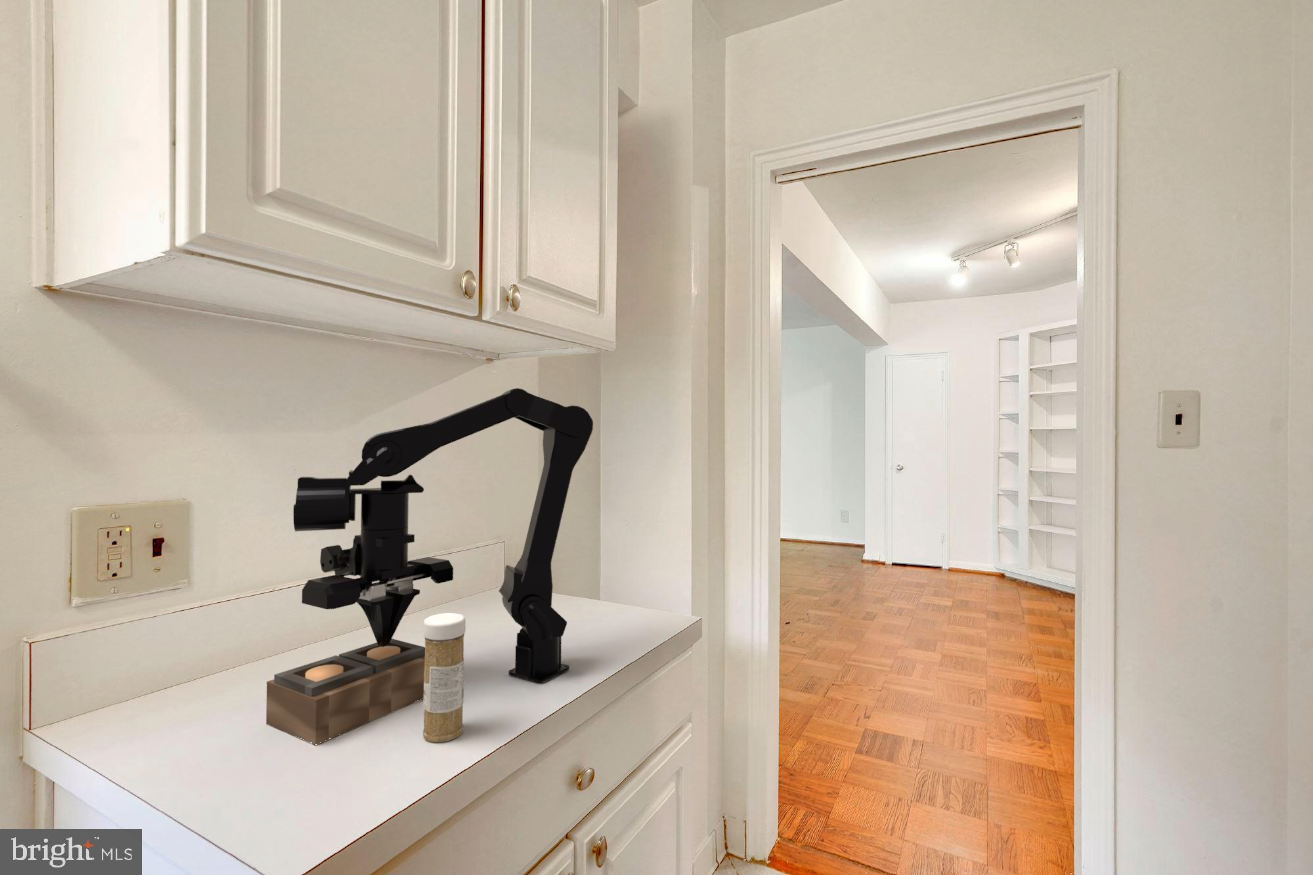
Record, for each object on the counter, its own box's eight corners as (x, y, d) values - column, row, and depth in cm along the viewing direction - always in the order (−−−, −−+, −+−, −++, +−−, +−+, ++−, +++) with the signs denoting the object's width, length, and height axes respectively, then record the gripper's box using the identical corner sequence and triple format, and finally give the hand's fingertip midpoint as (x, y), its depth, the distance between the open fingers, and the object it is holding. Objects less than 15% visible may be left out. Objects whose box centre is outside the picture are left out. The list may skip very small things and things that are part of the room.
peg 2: (386, 688, 82) (387, 644, 82) (406, 694, 80) (406, 649, 80) (359, 698, 79) (360, 652, 79) (379, 705, 77) (379, 658, 77)
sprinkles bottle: (428, 725, 72) (429, 612, 72) (468, 724, 72) (469, 611, 72) (417, 745, 67) (418, 623, 67) (459, 743, 67) (460, 622, 68)
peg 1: (330, 710, 75) (330, 662, 75) (349, 717, 73) (350, 668, 73) (297, 723, 72) (298, 672, 72) (317, 731, 70) (318, 679, 70)
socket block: (385, 678, 86) (386, 636, 86) (433, 693, 81) (434, 648, 81) (266, 723, 72) (266, 673, 72) (315, 745, 67) (316, 691, 67)
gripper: (405, 516, 92) (404, 618, 92) (277, 531, 76) (275, 655, 76) (456, 521, 86) (455, 630, 86) (330, 538, 70) (328, 673, 70)
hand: (383, 645), depth 80 cm, fingers closed
